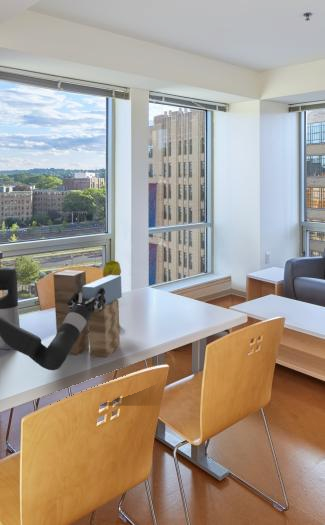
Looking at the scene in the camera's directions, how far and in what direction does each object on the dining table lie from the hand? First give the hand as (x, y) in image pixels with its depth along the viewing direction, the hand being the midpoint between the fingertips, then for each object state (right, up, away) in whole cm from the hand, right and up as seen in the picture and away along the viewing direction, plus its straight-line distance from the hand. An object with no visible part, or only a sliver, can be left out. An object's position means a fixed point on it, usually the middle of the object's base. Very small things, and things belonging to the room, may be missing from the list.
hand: (95, 288), depth 179 cm
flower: (+2, -19, +46) cm, 50 cm away
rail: (+2, -6, +7) cm, 9 cm away
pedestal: (-11, -26, +12) cm, 30 cm away
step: (+3, -26, +10) cm, 28 cm away
